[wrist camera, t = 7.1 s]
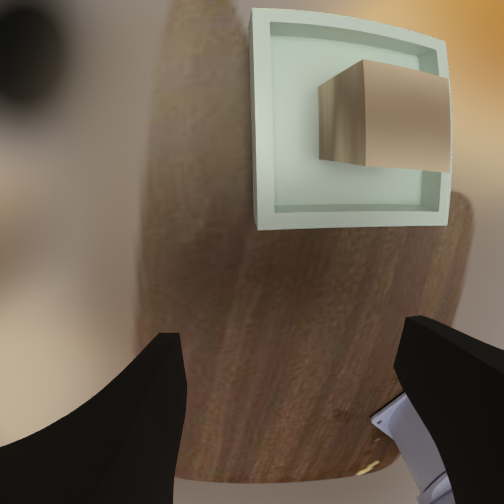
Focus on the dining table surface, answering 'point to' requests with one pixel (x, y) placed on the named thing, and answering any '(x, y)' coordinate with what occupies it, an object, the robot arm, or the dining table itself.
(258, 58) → the sage tray
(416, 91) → the maple block
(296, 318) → the dining table surface
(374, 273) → the dining table surface
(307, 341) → the dining table surface
